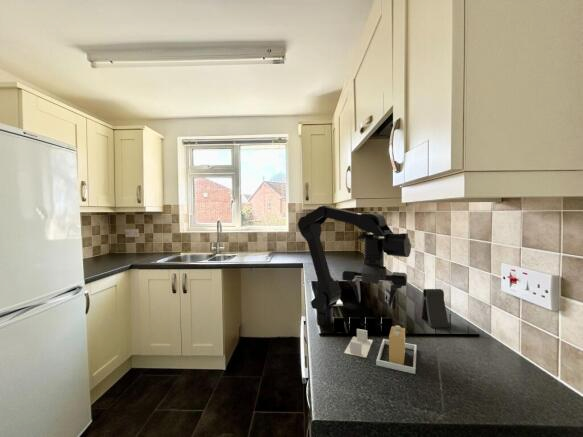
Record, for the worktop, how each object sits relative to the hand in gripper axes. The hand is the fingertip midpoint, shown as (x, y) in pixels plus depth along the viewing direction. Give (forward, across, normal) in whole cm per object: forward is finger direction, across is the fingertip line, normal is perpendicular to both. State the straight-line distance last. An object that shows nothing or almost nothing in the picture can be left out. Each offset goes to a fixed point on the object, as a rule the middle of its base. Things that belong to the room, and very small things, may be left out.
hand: (374, 304), depth 84 cm
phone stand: (+11, +17, +22) cm, 30 cm away
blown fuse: (+11, +8, -10) cm, 16 cm away
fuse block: (+11, -3, -8) cm, 14 cm away
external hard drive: (+12, -24, +27) cm, 38 cm away
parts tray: (+11, +8, -10) cm, 16 cm away
